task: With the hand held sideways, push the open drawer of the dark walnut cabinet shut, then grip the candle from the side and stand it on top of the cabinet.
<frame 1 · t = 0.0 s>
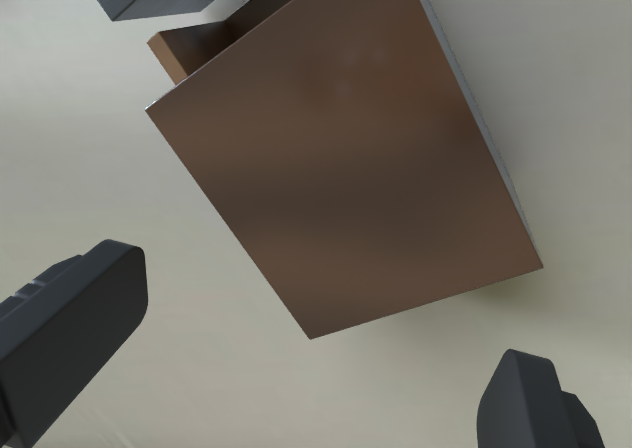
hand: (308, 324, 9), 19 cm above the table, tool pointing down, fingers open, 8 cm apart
cabinet: (369, 123, 26), on the table
drawer: (280, 15, 20), point 5 cm above the table, slide at 3.5 cm
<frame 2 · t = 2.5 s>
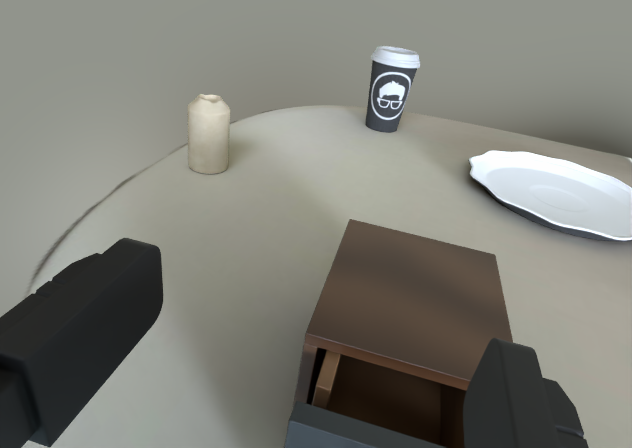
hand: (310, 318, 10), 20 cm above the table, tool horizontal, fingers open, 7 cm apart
coffee cup: (380, 127, 90), on the table
plate: (557, 201, 69), on the table
cabinet: (385, 383, 33), on the table
candle: (208, 167, 62), on the table
drawer: (389, 426, 25), point 5 cm above the table, slide at 3.5 cm
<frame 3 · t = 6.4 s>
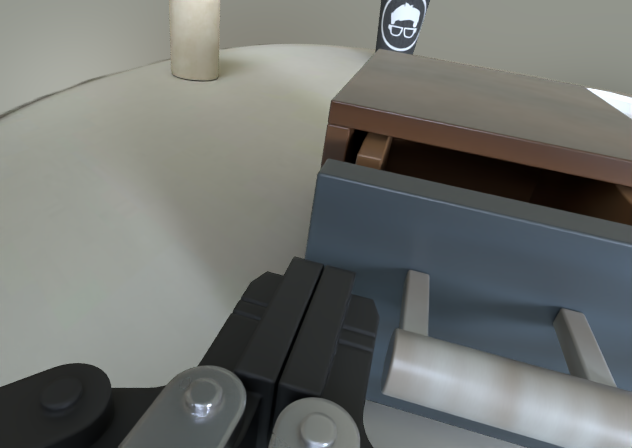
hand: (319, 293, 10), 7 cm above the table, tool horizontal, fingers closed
coffee cup: (391, 63, 80), on the table
plate: (600, 125, 60), on the table
cabinet: (431, 266, 24), on the table
candle: (195, 76, 53), on the table
drawer: (464, 256, 16), point 5 cm above the table, slide at 2.6 cm, touching gripper
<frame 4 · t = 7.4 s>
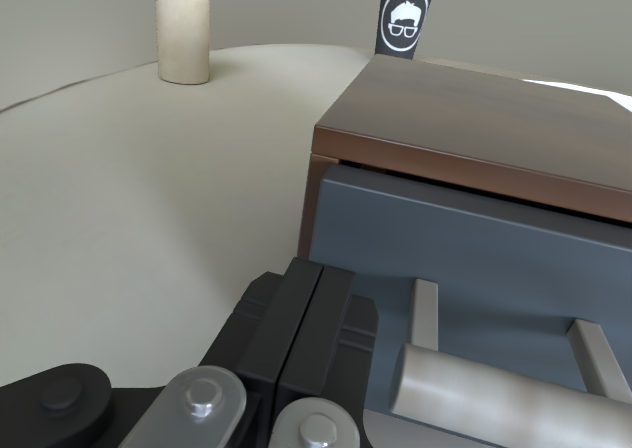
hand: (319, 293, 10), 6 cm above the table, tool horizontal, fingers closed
coffee cup: (391, 63, 78), on the table
plate: (610, 129, 57), on the table
cabinet: (435, 299, 21), on the table
candle: (184, 80, 50), on the table
drawer: (472, 262, 16), point 5 cm above the table, slide at 0.0 cm, touching cabinet, gripper
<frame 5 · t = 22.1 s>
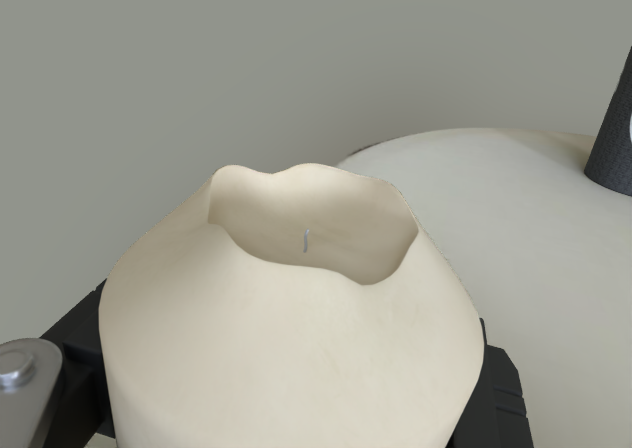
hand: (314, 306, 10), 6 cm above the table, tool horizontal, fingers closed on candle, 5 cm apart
coffee cup: (622, 184, 39), on the table
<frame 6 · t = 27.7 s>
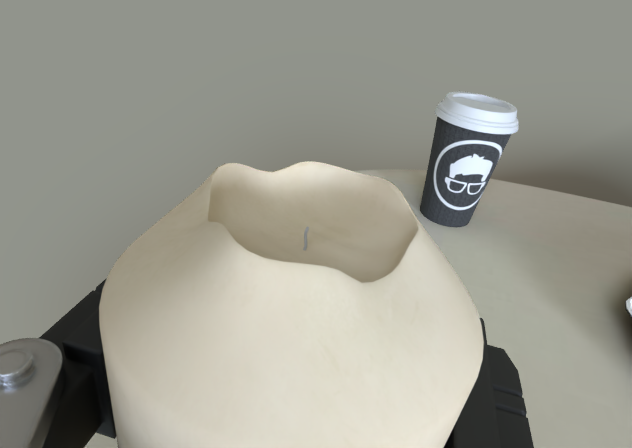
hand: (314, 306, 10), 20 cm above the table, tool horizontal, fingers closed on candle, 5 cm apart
coffee cup: (444, 215, 58), on the table
when the fingers open (16 cm above the table, at t = 33.4 s): candle stays where it is, resting on cabinet.
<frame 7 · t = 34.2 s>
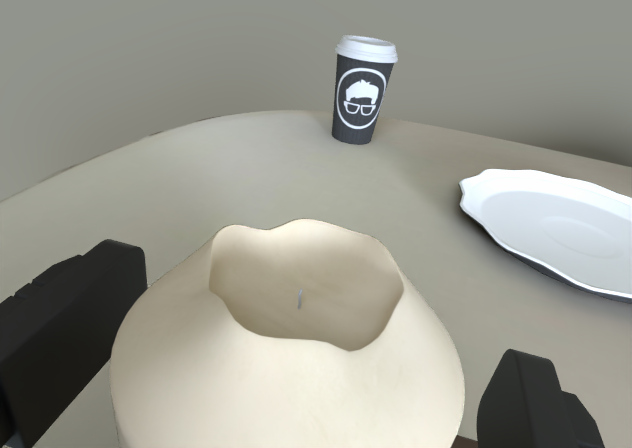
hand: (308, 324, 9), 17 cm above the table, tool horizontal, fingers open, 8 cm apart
coffee cup: (351, 138, 72), on the table
plate: (578, 240, 51), on the table
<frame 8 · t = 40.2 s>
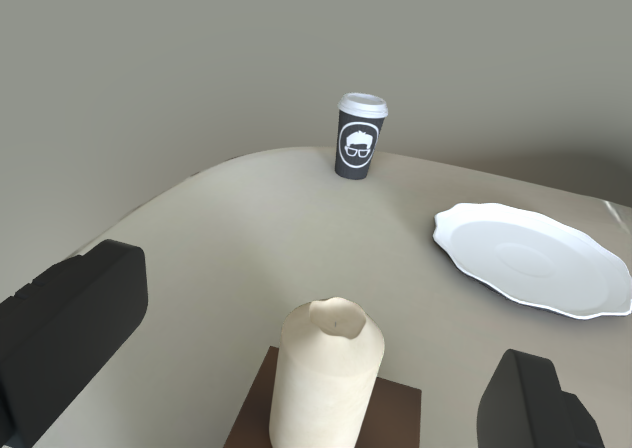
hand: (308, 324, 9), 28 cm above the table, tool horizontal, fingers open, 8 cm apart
coffee cup: (350, 173, 88), on the table
plate: (523, 262, 67), on the table
candle: (311, 434, 27), point 9 cm above the table, touching cabinet
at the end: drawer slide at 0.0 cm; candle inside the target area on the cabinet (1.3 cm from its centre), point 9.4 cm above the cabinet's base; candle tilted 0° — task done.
